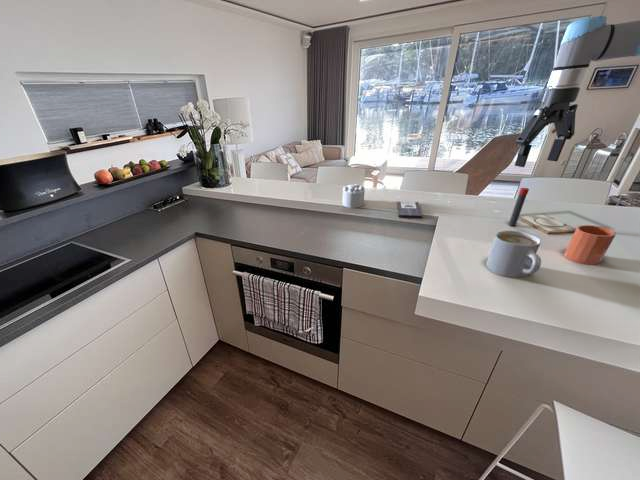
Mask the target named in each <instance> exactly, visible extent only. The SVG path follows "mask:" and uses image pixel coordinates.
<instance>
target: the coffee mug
mask: <svg viewBox="0 0 640 480" xmlns="http://www.w3.org/2000/svg"><path fill="white" fill-rule="evenodd" d="M540 245H541V239H540V238H539V237H538V236H536V235H535V234H532V233H528V232H524V231H519V230H501V231H498V232H497V233H495V236H494V239H493V242H492V245H491V249H490V251H489V254H488V257H487V260H486V263H485V266H486V268H487V270H489V271H490V272H491V273H493V274H495V275H499V276H501V277H505V278H510V279H511V278H512V279H519V278H524V277H526V276H527V275H532V274H535V273H537V272H538V271H539V269H540V268H541V265H542V259H541V256H540V255H539V254H537V253H538V250H539V249H540Z"/></svg>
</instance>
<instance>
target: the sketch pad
mask: <svg viewBox="0 0 640 480" xmlns="http://www.w3.org/2000/svg"><path fill="white" fill-rule="evenodd" d="M518 220H520V221H522V222H523V223H526V224H527V225H529V226H531V227H533V228H535V229H536V230H539V231H540V232H542V233H544V234H546V235H552V234H567V233H568V234H569V233H575V230H576V228H577V227H573V226H571V225H569V224H567V223H565V222H563V221H562V220H559V219H556V218H553V217H551V216H549V215H548V214H544V213H543V214H527V215H526V214H525V215H519V218H518Z"/></svg>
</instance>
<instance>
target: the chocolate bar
mask: <svg viewBox="0 0 640 480" xmlns="http://www.w3.org/2000/svg"><path fill="white" fill-rule="evenodd" d="M396 203H397V205H396V206H397V213H398V214H397V215H398V218H411V219H412V218H415V219H416V218H418V219H422V218H423V214H422V211H421V207H420V205H419V201H397V202H396Z"/></svg>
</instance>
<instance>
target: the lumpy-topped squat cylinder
mask: <svg viewBox="0 0 640 480" xmlns="http://www.w3.org/2000/svg"><path fill="white" fill-rule="evenodd" d="M365 191H366V189H365V187H364V186H363V185H360V184H357V183H356V184H355V183H354V184H348V185H345V186H344V187H342V206H344V207H346V208H350V209H357V208H360V207H362V206H364V204H365Z"/></svg>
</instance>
